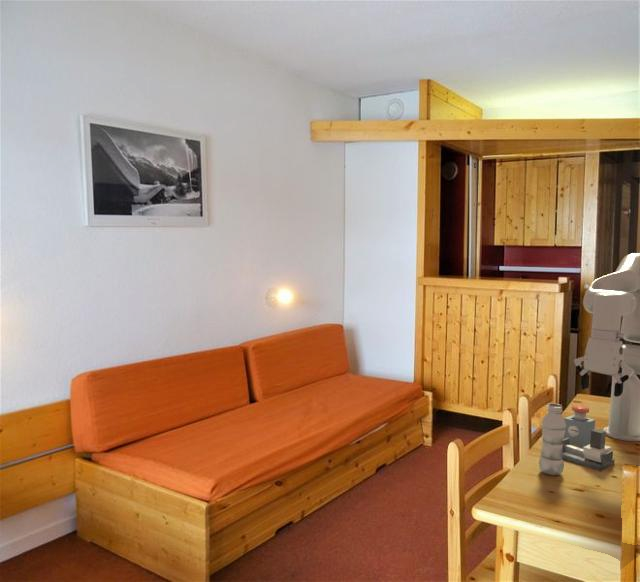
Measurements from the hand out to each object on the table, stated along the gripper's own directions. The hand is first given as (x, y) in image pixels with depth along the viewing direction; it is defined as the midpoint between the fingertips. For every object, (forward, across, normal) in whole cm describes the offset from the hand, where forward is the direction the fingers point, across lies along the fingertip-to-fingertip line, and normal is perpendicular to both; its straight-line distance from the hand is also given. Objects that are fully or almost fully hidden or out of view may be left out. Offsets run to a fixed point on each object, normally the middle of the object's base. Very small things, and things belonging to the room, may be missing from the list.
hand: (600, 392), depth 177 cm
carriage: (+20, 0, 0) cm, 20 cm away
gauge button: (+15, +13, -14) cm, 24 cm away
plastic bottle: (+22, +4, +18) cm, 29 cm away
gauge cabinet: (+22, +12, -14) cm, 29 cm away
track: (+22, +4, 0) cm, 22 cm away
